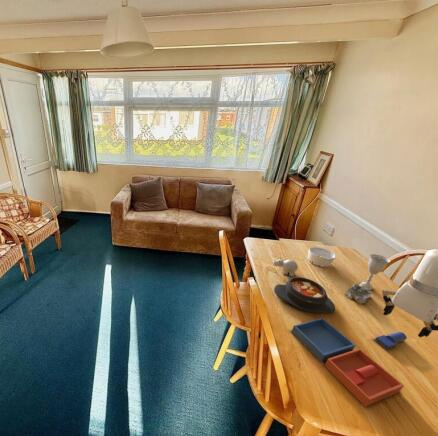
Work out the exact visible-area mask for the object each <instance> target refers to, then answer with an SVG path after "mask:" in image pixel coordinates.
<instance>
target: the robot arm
mask: <svg viewBox="0 0 438 436" xmlns="http://www.w3.org/2000/svg"><path fill="white" fill-rule="evenodd" d="M381 292H382V299H383V301H384V305H385V306H384V307H383V312H382V315H384V316H389V315H391V314H392V313H393V310H394V308H395V307H397V308H399V309H400V310H402V311H404V312H405V313H408V314H409V315H410V316H412V317H414V318H416V319H418V320H420V321H422V322H423V324H424V326H423V327H422V329H421V330H420V331H419V333H418V334H417V336H418V337H419V338H423V337H426V338H428V337H429V336H430V334H432V332H433V331H434V332H435V331H437V332H438V324H436V322H435V321H438V248H434V249H433V248H432V249H430V250H428V251H426V253H425V254H424V256H423V258H422V260H421V261H420V263H419V265H418V266H417V268H416V270H415V271H414V273H413V274H412V277H411V278H410V279H409V280H407V281H406V282H404V283H403V285H401V286H400V287H399V289H397V291H396V290H390V289H382V291H381ZM390 296H393V297H392V299H391V297H390Z"/></svg>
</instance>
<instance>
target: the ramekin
mask: <svg viewBox="0 0 438 436" xmlns="http://www.w3.org/2000/svg"><path fill="white" fill-rule="evenodd" d="M317 255H318V256H317ZM320 256H322V257H320ZM323 257H324V258H323ZM336 258H337V257H336V255H335V253H334V252H332V251H331V250H329V249H326V248H324V247H320V246H319V247H318V246H312V247H309V249H308V254H307V260H308V259H309V260H310V261H311V262H310V261H309V260H308V261H309V262H310V264H313V265H314V266H317V267H322V268H327V267H330V266H332V263H333V262H334V261H335V259H336ZM312 262H313V263H312ZM314 263H315V264H314ZM316 264H318V265H316ZM319 265H322V266H319ZM329 265H330V266H329ZM325 266H326V267H325Z"/></svg>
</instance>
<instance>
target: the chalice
mask: <svg viewBox="0 0 438 436" xmlns="http://www.w3.org/2000/svg"><path fill="white" fill-rule="evenodd" d="M390 262H391V259H390V258H388V257H385V256H383V255H379V254H375V253H373V254H370V259H369V260H368V263H367V268H368V272H369V273H370V274H369V275H368V278H366V281H362V282H360V283H359V284H358V285H359V286H361V287H363V288H365V289H367V290H368V291H372V290H373V287H372V284H371V281H372V279H373V278H374V275H377V274H380V273H382V272H383V271H384V270H385V269H386V266H387V265H388V263H390Z"/></svg>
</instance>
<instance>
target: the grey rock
mask: <svg viewBox="0 0 438 436" xmlns="http://www.w3.org/2000/svg"><path fill="white" fill-rule="evenodd" d="M371 296H372V291H370V290H367V289H365V288H363V287H361V286H360V285H359V284H357V283H354V284H353V285H351V287H349V288H348V289H347V293H346V297H347V298H348V299H349V300H354V301H356V303H358V304H362V305H363V304H365V303H366V302H367V301H368V299H369V298H371Z"/></svg>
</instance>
